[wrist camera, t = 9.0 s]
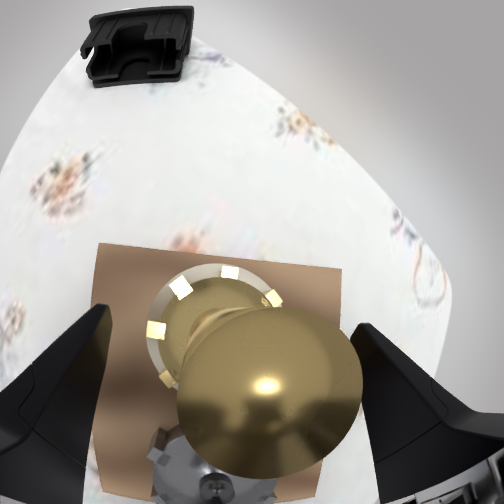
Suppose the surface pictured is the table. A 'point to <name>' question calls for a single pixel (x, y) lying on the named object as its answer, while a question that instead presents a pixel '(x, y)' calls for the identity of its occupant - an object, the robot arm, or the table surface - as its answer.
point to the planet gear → (255, 377)
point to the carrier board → (149, 360)
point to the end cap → (138, 45)
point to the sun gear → (198, 476)
